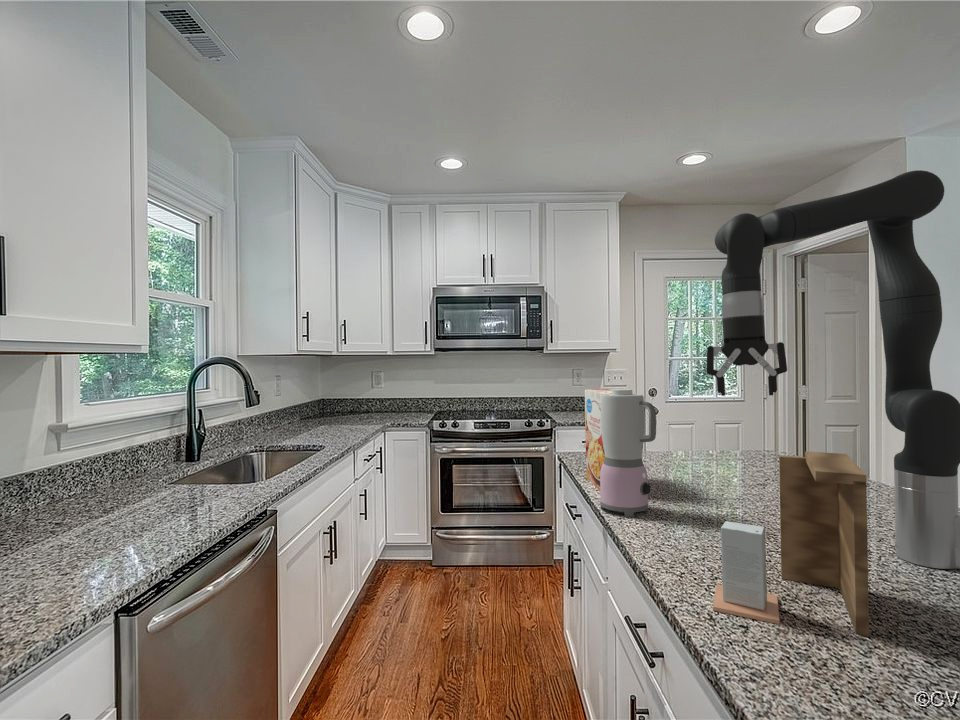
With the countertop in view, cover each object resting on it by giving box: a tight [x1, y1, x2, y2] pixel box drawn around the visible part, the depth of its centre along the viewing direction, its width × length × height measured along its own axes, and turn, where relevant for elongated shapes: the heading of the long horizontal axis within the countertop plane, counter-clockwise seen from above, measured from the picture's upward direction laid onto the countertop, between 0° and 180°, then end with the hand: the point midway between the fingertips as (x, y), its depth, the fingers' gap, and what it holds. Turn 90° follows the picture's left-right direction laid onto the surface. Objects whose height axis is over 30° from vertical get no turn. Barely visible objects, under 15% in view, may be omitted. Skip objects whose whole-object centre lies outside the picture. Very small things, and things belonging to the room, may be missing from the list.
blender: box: [599, 388, 657, 518], centre depth 130 cm, size 16×12×32 cm
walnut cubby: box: [778, 451, 870, 637], centre depth 80 cm, size 10×18×23 cm, turn 151°
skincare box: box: [720, 520, 768, 610], centre depth 80 cm, size 6×4×12 cm
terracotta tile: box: [712, 583, 780, 625], centre depth 80 cm, size 9×9×1 cm
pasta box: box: [584, 388, 613, 492], centre depth 156 cm, size 23×8×30 cm, turn 2°
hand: (746, 395), depth 100 cm, fingers open, 8 cm apart
